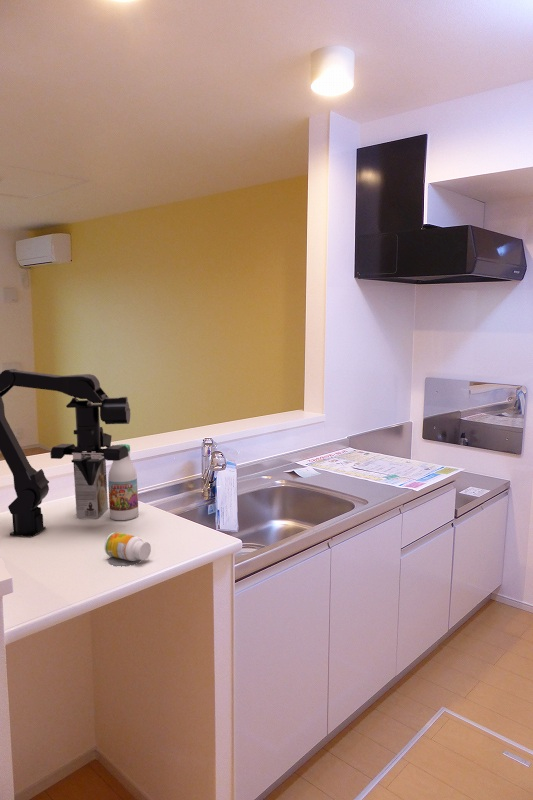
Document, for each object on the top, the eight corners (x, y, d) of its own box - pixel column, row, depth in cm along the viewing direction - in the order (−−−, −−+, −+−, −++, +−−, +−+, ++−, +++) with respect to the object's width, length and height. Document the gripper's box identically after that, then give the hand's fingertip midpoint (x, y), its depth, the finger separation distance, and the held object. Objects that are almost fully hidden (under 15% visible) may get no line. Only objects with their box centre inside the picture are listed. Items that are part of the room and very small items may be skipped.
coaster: (102, 566, 129) (102, 564, 129) (117, 553, 136) (117, 551, 136) (134, 568, 127) (134, 567, 127) (147, 555, 134) (147, 554, 134)
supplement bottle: (121, 530, 136) (154, 537, 132) (118, 554, 136) (151, 561, 131) (105, 532, 132) (138, 539, 127) (102, 557, 131) (135, 565, 127)
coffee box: (86, 508, 170) (83, 454, 168) (108, 508, 169) (106, 454, 167) (75, 519, 160) (72, 461, 158) (99, 518, 160) (96, 461, 158)
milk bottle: (107, 514, 164) (104, 444, 162) (135, 510, 167) (132, 441, 165) (112, 522, 157) (108, 449, 154) (141, 518, 160) (138, 446, 158)
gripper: (135, 420, 153) (138, 478, 155) (70, 419, 157) (73, 476, 159) (116, 427, 143) (119, 490, 145) (47, 426, 146) (51, 486, 148)
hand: (91, 485), depth 149 cm, fingers closed
